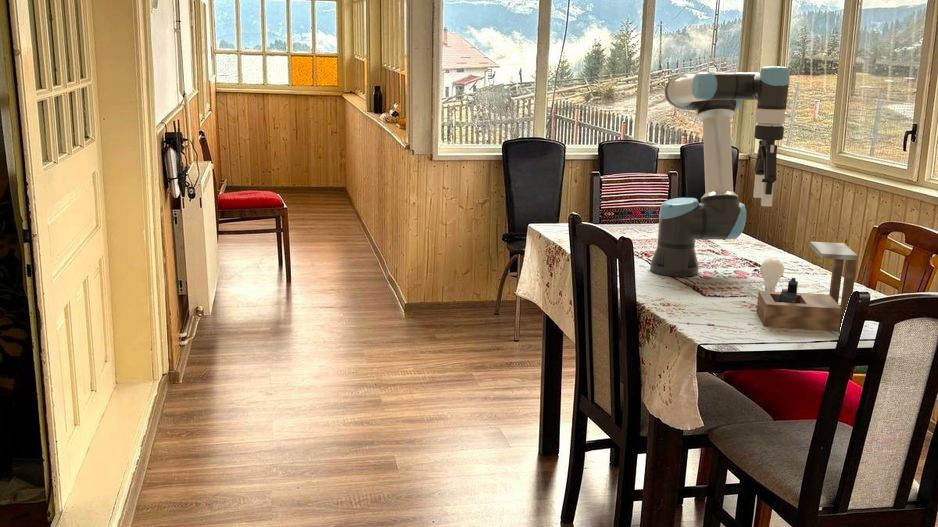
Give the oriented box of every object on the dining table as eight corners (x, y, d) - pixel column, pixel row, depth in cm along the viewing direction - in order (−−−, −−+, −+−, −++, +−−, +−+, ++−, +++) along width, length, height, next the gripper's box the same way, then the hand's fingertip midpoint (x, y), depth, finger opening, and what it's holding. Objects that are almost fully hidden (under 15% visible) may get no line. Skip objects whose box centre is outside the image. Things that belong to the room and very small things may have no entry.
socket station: (764, 326, 225) (772, 251, 220) (756, 311, 238) (763, 239, 233) (847, 332, 222) (857, 255, 217) (834, 315, 235) (843, 243, 230)
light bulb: (762, 290, 259) (766, 254, 256) (784, 294, 255) (788, 258, 252) (754, 294, 254) (757, 258, 251) (776, 299, 250) (780, 262, 247)
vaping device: (787, 323, 227) (792, 279, 224) (775, 318, 232) (779, 274, 229) (795, 323, 228) (800, 279, 225) (783, 317, 233) (788, 274, 230)
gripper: (793, 129, 223) (784, 210, 228) (776, 121, 247) (768, 194, 252) (763, 128, 224) (755, 209, 229) (748, 120, 248) (742, 193, 253)
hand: (762, 201), depth 241 cm, fingers open, 13 cm apart
